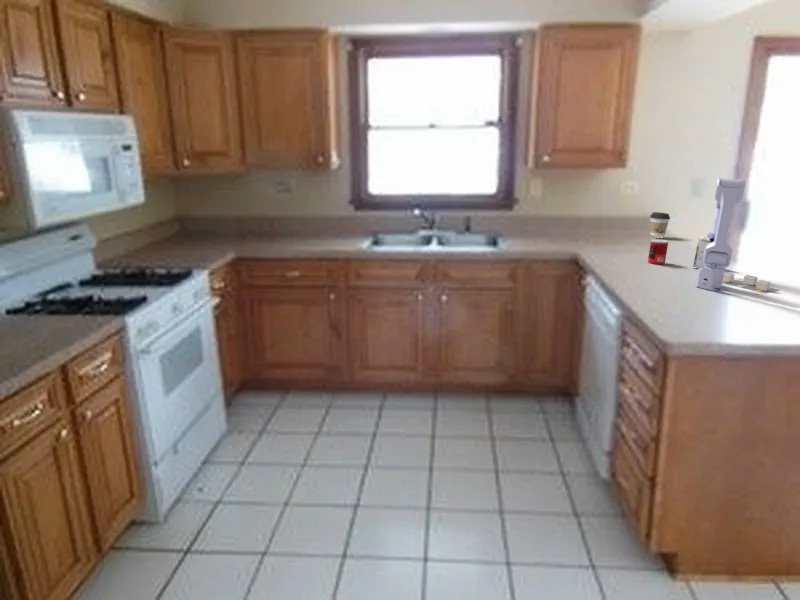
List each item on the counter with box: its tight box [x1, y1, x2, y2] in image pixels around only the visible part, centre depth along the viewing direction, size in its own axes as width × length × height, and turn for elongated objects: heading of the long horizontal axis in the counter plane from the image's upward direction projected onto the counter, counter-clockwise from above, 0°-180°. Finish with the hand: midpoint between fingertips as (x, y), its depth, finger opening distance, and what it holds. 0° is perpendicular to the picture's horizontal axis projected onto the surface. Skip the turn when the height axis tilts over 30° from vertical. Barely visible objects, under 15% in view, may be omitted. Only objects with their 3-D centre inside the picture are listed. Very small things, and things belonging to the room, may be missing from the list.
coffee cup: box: [649, 211, 671, 237], centre depth 367 cm, size 11×11×15 cm
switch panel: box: [722, 279, 780, 294], centre depth 254 cm, size 12×22×1 cm, turn 33°
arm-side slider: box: [723, 271, 735, 282], centre depth 259 cm, size 3×4×3 cm
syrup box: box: [692, 236, 711, 268], centre depth 287 cm, size 6×6×14 cm
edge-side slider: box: [756, 279, 772, 291], centre depth 247 cm, size 3×4×3 cm
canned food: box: [647, 238, 669, 266], centre depth 295 cm, size 8×8×11 cm
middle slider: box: [743, 274, 759, 285], centre depth 255 cm, size 3×4×3 cm
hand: (715, 253), depth 270 cm, fingers closed
